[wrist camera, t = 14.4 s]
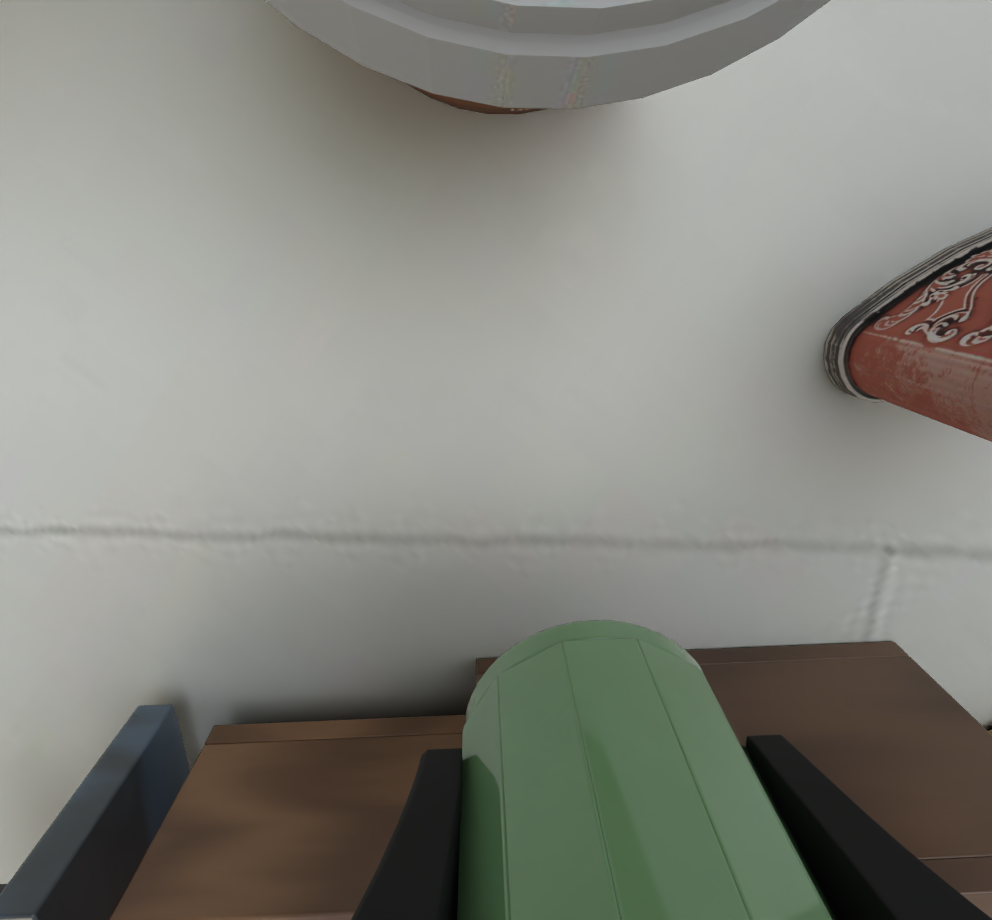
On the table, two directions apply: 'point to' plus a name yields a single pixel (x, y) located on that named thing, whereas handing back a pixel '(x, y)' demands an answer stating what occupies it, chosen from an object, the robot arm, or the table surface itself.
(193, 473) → the table surface
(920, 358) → the lighter
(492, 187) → the table surface
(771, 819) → the pot
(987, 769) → the cabinet
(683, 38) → the food container
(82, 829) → the drawer
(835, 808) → the robot arm
